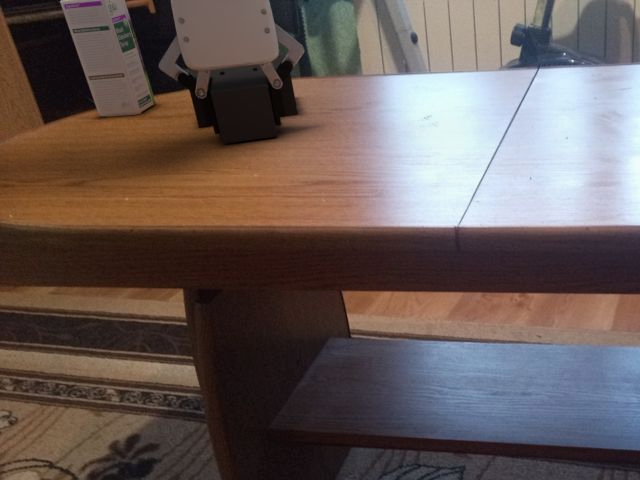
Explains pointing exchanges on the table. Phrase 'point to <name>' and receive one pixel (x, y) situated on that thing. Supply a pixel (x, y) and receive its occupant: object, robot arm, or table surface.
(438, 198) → the table surface
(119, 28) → the syrup box
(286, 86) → the block
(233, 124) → the block
